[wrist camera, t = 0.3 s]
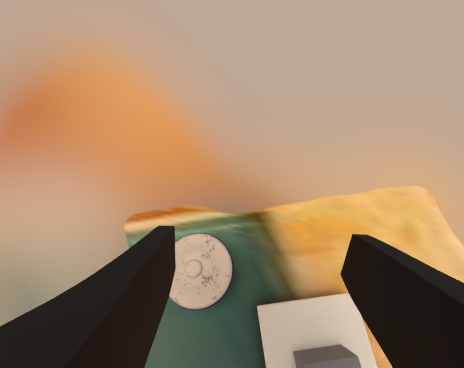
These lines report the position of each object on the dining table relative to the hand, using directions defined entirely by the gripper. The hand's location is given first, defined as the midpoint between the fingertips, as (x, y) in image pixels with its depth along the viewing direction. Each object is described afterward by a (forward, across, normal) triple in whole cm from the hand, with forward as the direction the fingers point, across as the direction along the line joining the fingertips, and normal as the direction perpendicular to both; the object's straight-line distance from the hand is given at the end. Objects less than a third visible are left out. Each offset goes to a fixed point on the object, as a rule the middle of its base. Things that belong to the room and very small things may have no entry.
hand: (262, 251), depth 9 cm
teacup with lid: (+21, +5, +21) cm, 30 cm away
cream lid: (+11, -11, +24) cm, 28 cm away
